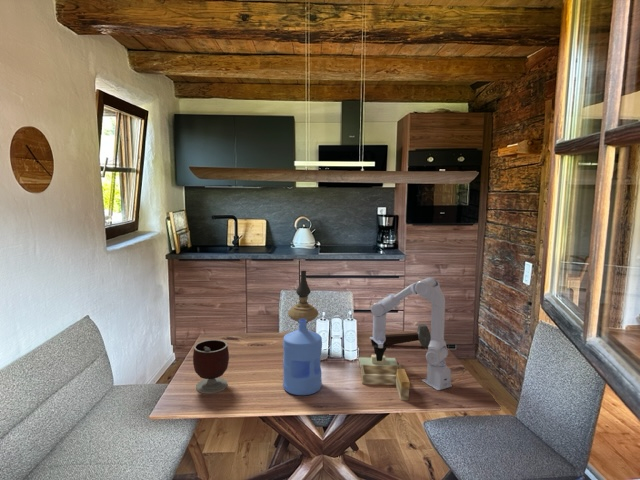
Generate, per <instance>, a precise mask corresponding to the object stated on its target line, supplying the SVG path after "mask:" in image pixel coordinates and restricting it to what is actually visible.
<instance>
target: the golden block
mask: <svg viewBox="0 0 640 480" xmlns="http://www.w3.org/2000/svg"><path fill="white" fill-rule="evenodd" d="M397 377H398V380H399V383H400V385H401V388H409V389H410V385H411V383H410V382H411V381H410V380H409V376H408V375H407V372H406V369H405V368H401V369H397Z"/></svg>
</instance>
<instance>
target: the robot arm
mask: <svg viewBox="0 0 640 480" xmlns="http://www.w3.org/2000/svg"><path fill="white" fill-rule="evenodd" d="M440 285H441V283H440V282H439V281H437V280H436V279H435V277H432V276H427V277H426V278H424V279H421V280H419V281H416V282H414V283H411V284H409V285H408V286H407V287H404V289H402V290H400V291H399V292H397V293H388V294H386V296H385V297H384V298H383V299H382V298H381V299H379V300H378V302H375V303H373V305H372V306H371V307H370V312H371V313H372V336H373V337H372V336H369V340H370V341H371V340H372V342H373V346H372V347H373V349H374V350H373V351H374V355H376V359H377V361H382V358H383V355H385V351H386V350H387V346H383V343H384V342H385V340H386V338H385V335H386V330H387V328H386V327H387V325H386V324H387V313H388V312H390V311H391V310H393V309H394V308H396V307H398V306H399V305H400V304H401V301H402V300H404V299H406V298H407V297H409V296H411V295H412V294H413V295H419V296H420V297H422V298H424V299H425V300H427V301H428V302H429V303H431V311H430V312H431V313H430V314H431V315H430V316H431V317H430V335H431V340H430V344H429V346H428V347H427V351H426V354H425V359H426V362H427V367H426V378H423V379H421V381H422V382H423V383H425V384H426V385H428V386H430V387H431V388H434V390H436V391H441V390H444V389H447V388H448V389H449V388H452V386H453V385H452V370H451V369H450V368H449V367H448V366H447V362H446V358H448V356H449V350H448V348H447V342H446V341H445V320H446V319H445V318H446V317H445V316H446V314H445V313H446V297H445V295H444V293H443V291H442V289H441V287H440Z"/></svg>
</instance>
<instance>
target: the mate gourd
mask: <svg viewBox="0 0 640 480" xmlns="http://www.w3.org/2000/svg"><path fill="white" fill-rule="evenodd" d="M229 362H230V352H229V347H228V343H227V342H226V341H225V340H221V339H207V340H202V341H199V342H198V343H196V344H194V347H193V351H192V364H193V369H194V372H195V373H196V374H197V376H199V377H200V379H201V380H200V381H199V382H197V383H196V386H195V389H196V391H197V392H198V393H201V394H207V395H208V394H209V395H211V394H217V393H220V392H222V391H224V390H225V389H226V388H227V387H228V381H227V380H226V379H225V378H221V377H222V376H223V375H224V374H225V372H226V371H227V370H228V367H229Z"/></svg>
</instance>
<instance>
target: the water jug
mask: <svg viewBox="0 0 640 480" xmlns="http://www.w3.org/2000/svg"><path fill="white" fill-rule="evenodd" d="M306 321H307V320H306V319H299V323H298V329H296V330H294V331H290V332H288V333H286V334H285V335H284V336H283V341H282V348H283V351H282V353H283V357H282V358H283V360H282V369H283V373H282V374H283V380H282V386H283V389H284V390H285V391H286V392H287V393H288V394H291V395H295V396H308V395H309V396H310V395H312V394H315V393H317V392H318V391H320V389H322V386H323V385H322V368H321V357H322V352H323V351H322V350H323V340H322V339H323V338H322V336H321V335H320V334H319V333H318V332H315V331H312V330H310V329H308V328H307V325H308V323H307V324H306ZM307 329H308V330H307Z"/></svg>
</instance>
